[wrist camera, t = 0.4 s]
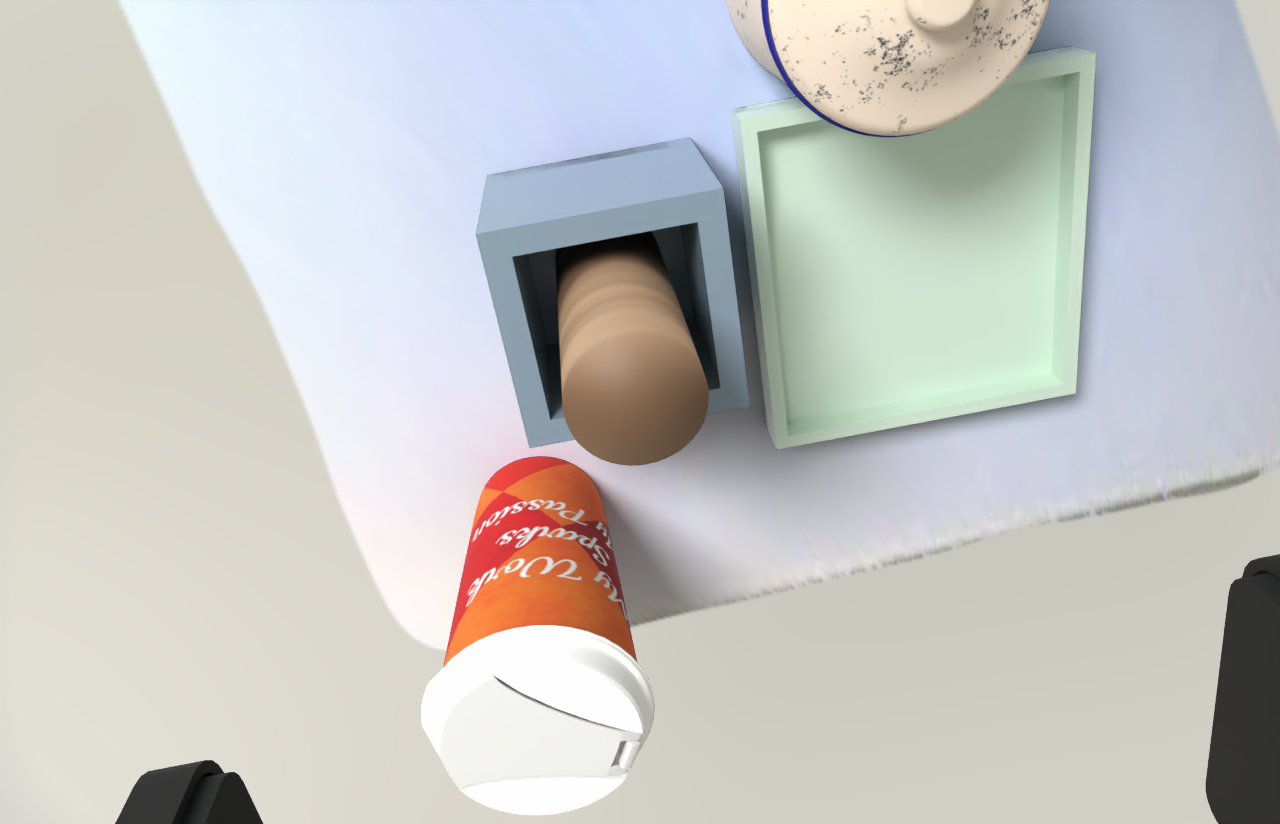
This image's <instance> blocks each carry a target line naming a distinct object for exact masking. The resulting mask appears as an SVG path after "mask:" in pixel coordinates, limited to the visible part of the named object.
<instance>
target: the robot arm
mask: <svg viewBox="0 0 1280 824" xmlns="http://www.w3.org/2000/svg"><path fill="white" fill-rule="evenodd" d="M1206 794H1207V799H1208V802H1209V805H1210V808H1211V811H1212V813H1213V815H1214V817H1215V819H1216V821H1217V822H1218V824H1280V554H1279V555H1274V556H1268V557H1263V558H1258V559H1255V560H1252V561H1250V562H1249V563H1248V565H1247V566H1246V567H1245V569H1244V573H1243V576H1242V578H1240V579H1237V580H1235V581H1234V582H1233V583H1232V584H1231V587H1230V591H1229V596H1228V604H1227V612H1226V620H1225V628H1224V638H1223V646H1222V653H1221V662H1220V670H1219V678H1218V687H1217V694H1216V703H1215V711H1214V719H1213V727H1212V737H1211V744H1210V752H1209V760H1208V769H1207V777H1206ZM115 824H263V822H262V820H261V818H260V816H259V814H258V812H257V810H256V808H255V806H254V803H253V801H252V799H251V797H250V795H249V793H248V791H247V789H246V786H245V784H244V782H243V781H242V779H241V778H240V776H239V775H238V774H236V773H235V772H229V773H224V772H223V771H222V769H221V768H220V766H219V765H218V764H217V763H215V762H214V761H212V760H205V761H200V762H195V763H189V764H184V765H179V766H174V767H169V768H164V769H158V770H153V771H148V772H147V773H145V774H144V775H142V776H141V777H140V778H139V780H138V781H137V783H136V784H135V786H134V787H133V789H132V791H131V793H130V795H129V798H128V799H127V801H126V803H125V805H124V808H123V809H122V812H121V814H120V816H119V817H118V819H117V822H116V823H115Z"/></svg>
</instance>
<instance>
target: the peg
mask: <svg viewBox="0 0 1280 824" xmlns="http://www.w3.org/2000/svg"><path fill="white" fill-rule="evenodd" d="M555 265H556V285H557V304H558V324H559V344H560V364H561V384H562V404H563V413H564V417H565V421H566V424H567V426H568V428H569V430H570V432H571V434H572V435H573V437H574V438H575V439H576V441H577V442H578V443H579V444H580V445H581V446H582V447H583V448H585V449H586V450H587V451H588V452H590V453H591V454H593V455H594V456H596V457H598V458H600V459H602V460H605V461H608V462H611V463H616V464H621V465H643V464H649V463H653V462H657V461H660V460H663V459H665V458H667V457H669V456H671V455H673V454H675V453H676V452H678V451H679V450H681V449H682V448H683V447H684V446H686V445H687V444H688V443H689V442H690V441H691V440H692V439H693V438H694V436H695V435H696V434H697V432H698V431H699V429H700V428H701V426H702V424H703V422H704V419H705V417H706V414H707V409H708V404H709V390H708V384H707V380H706V377H705V374H704V371H703V369H702V366H701V363H700V360H699V358H698V355H697V352H696V349H695V346H694V344H693V341H692V338H691V335H690V332H689V330H688V327H687V324H686V321H685V318H684V316H683V313H682V310H681V307H680V304H679V302H678V299H677V296H676V293H675V290H674V288H673V285H672V282H671V279H670V276H669V274H668V271H667V268H666V265H665V263H664V260H663V257H662V254H661V251H660V249H659V246H658V243H657V240H656V238H655V236H654V235H653V233H652V232H651V231H647V232H642V233H637V234H631V235H626V236H621V237H615V238H610V239H605V240H599V241H594V242H589V243H583V244H578V245H572V246H567V247H562V248H557V251H556V258H555Z"/></svg>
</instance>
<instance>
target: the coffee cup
mask: <svg viewBox="0 0 1280 824" xmlns="http://www.w3.org/2000/svg"><path fill="white" fill-rule="evenodd" d="M654 708H655V705H654V698H653V691H652V688H651V685H650V682H649V679H648V678H647V676H646V674H645V672H644V671H643V669H642V667H641V666H640V665H639V664H638V663H637V660H636V654H635V650H634V645H633V640H632V636H631V631H630V626H629V622H628V617H627V612H626V608H625V603H624V598H623V593H622V589H621V584H620V580H619V575H618V570H617V566H616V561H615V557H614V552H613V547H612V543H611V539H610V534H609V530H608V525H607V521H606V517H605V513H604V509H603V505H602V502H601V498H600V495H599V493H598V490H597V488H596V486H595V484H594V483H593V481H592V480H591V479H590V477H589V476H588V475H587V474H586V473H585V472H584V471H582V470H581V469H580V468H578V467H577V466H575V465H574V464H572V463H570V462H567V461H565V460H562V459H558V458H554V457H546V456H536V457H528V458H523V459H520V460H517V461H514V462H512V463H510V464H508V465H506V466H504V467H503V468H501V469H500V470H499V471H497V472H496V473H495V474H494V475H493V476H492V477H491V478H490V480H489V481H488V482H487V484H486V485H485V487H484V489H483V491H482V494H481V496H480V499H479V503H478V506H477V510H476V514H475V518H474V522H473V527H472V532H471V536H470V541H469V545H468V550H467V555H466V559H465V564H464V569H463V574H462V578H461V583H460V588H459V593H458V598H457V603H456V607H455V612H454V617H453V622H452V627H451V632H450V637H449V642H448V646H447V651H446V656H445V662H444V666H443V669H442V670H441V671H440V672H439V673H438V674H437V675H436V676H435V677H434V678H433V679H432V680H431V681H430V682H429V683H428V685H427V688H426V691H425V693H424V696H423V702H422V708H421V720H422V726H423V728H424V730H425V732H426V733H427V735H428V737H429V738H430V740H431V742H432V744H433V746H434V748H435V750H436V752H437V754H438V755H439V756H440V757H441V759H442V762H443V765H444V767H445V768H446V770H447V772H448V773H449V775H450V777H451V778H452V780H453V781H454V782H455V784H456V785H457V787H458V788H459V789H460V790H461V791H462V792H463V793H464V794H466V795H467V796H469V797H470V798H472V799H473V800H475V801H477V802H479V803H481V804H483V805H485V806H487V807H490V808H493V809H496V810H500V811H503V812H508V813H514V814H522V815H550V814H556V813H563V812H567V811H571V810H575V809H578V808H581V807H583V806H586V805H589V804H591V803H593V802H595V801H597V800H599V799H601V798H602V797H604V796H606V795H607V794H609V793H610V792H611V791H613V790H614V789H616V788H617V787H618V786H619V785H620V784H621V783H622V782H623V781H624V779H625V778H626V776H627V770H628V768H631V767H632V764H633V762H634V760H635V758H636V756H637V754H638V752H639V750H640V749H641V748H642V746H643V744H644V742H645V740H646V738H647V736H648V735H649V733H650V730H651V726H652V723H653V719H654Z"/></svg>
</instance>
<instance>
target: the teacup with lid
mask: <svg viewBox="0 0 1280 824" xmlns="http://www.w3.org/2000/svg"><path fill="white" fill-rule="evenodd" d="M726 1H727V6H728V10H729V13H730V17H731V20H732V22H733V25H734V27H735V30H736V32H737V34H738V36H739V37H740V39H741V41H742V43H743V44H744V46H745V47H746V49H747V50H748V51H749V52H750V54H751V55H752V56H753V57H754V58H755V59H756V60H757V61H758V62H759V63H760V64H761V65H762V66H763V67H764V68H766V69H767V70H768V71H769V72H771V73H772V74H774V75H775V76H776V77H778V78H779V79H781V80H782V81H783V82H785V83H786V84H787V85H788V87H789V88H790V89H791V90H792V92H793V93H794V94H795V95H796V96H797V98H798V99H799V100H800V101H801V102H802V103H803V104H804V105H805V106H806V107H808V108H809V109H810V110H811V111H813V112H814V113H815V114H816V115H818V116H819V117H821V118H822V119H824V120H826V121H827V122H829V123H831V124H833V125H835V126H837V127H839V128H841V129H844V130H847V131H850V132H853V133H857V134H861V135H866V136H873V137H904V136H910V135H916V134H920V133H924V132H927V131H931V130H934V129H936V128H939V127H942V126H944V125H946V124H949V123H951V122H953V121H955V120H957V119H959V118H961V117H963V116H964V115H966V114H968V113H969V112H971V111H973V110H974V109H976V108H977V107H978V106H980V105H981V104H982V103H984V102H985V101H986V100H987V99H989V98H990V97H991V96H992V95H993V94H994V93H995V92H997V91H998V90H999V89H1000V87H1001V86H1002V85H1003V84H1004V83H1005V82H1006V81H1007V80H1008V79H1009V78H1010V77H1011V75H1012V74H1013V73H1014V72H1015V71H1016V69H1017V68H1018V67H1019V65H1020V64H1021V62H1022V61H1023V59H1024V58H1025V57H1026V55H1027V53H1028V52H1029V50H1030V48H1031V46H1032V45H1033V43H1034V41H1035V39H1036V37H1037V35H1038V33H1039V31H1040V29H1041V26H1042V24H1043V21H1044V18H1045V16H1046V13H1047V10H1048V6H1049V3H1050V0H726Z"/></svg>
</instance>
